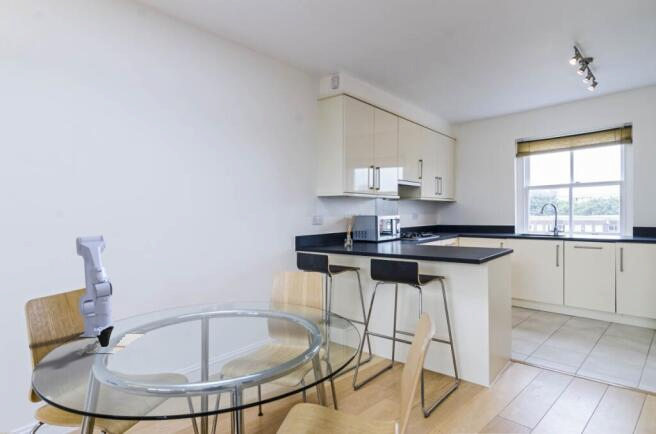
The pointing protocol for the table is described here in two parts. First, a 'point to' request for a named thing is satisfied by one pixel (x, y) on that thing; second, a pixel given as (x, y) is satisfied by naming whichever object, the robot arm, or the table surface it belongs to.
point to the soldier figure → (89, 347)
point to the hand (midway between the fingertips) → (105, 346)
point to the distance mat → (123, 342)
